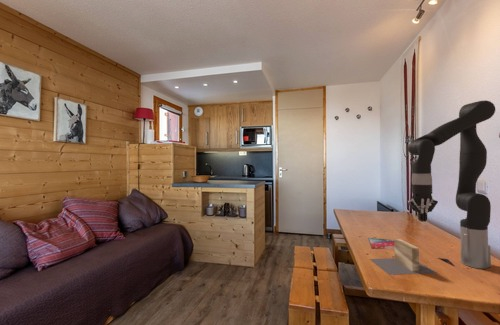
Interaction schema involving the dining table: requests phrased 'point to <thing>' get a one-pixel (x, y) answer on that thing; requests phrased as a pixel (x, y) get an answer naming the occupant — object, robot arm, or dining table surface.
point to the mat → (399, 267)
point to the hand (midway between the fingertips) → (422, 221)
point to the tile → (407, 255)
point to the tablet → (381, 243)
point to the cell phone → (446, 261)
